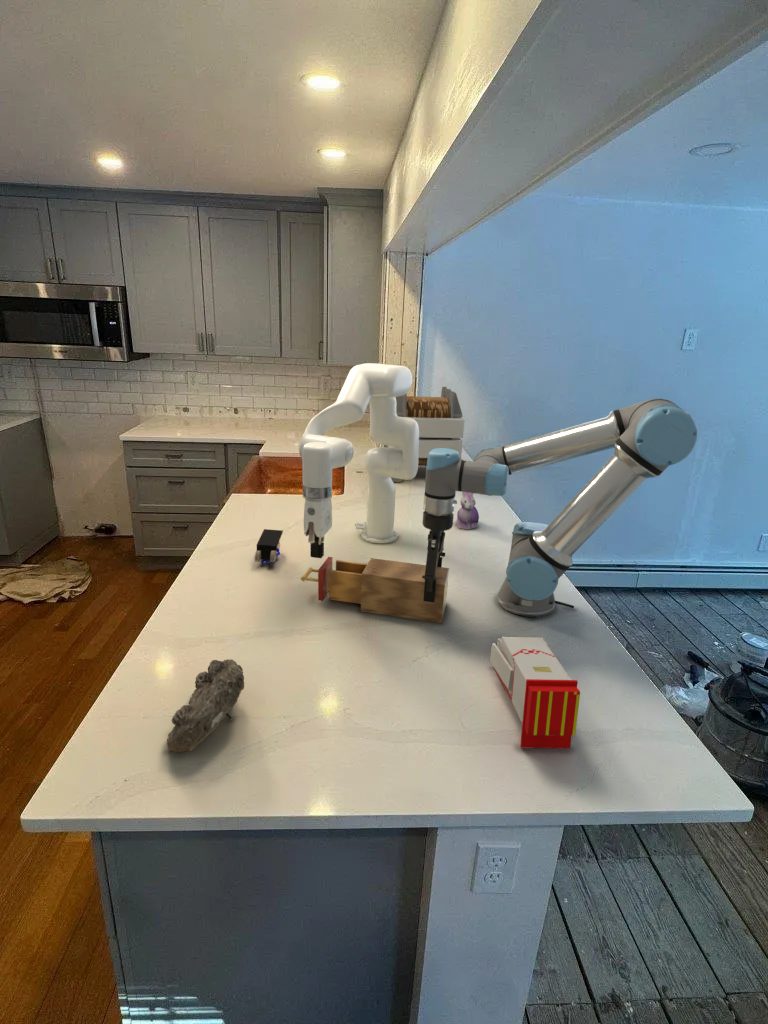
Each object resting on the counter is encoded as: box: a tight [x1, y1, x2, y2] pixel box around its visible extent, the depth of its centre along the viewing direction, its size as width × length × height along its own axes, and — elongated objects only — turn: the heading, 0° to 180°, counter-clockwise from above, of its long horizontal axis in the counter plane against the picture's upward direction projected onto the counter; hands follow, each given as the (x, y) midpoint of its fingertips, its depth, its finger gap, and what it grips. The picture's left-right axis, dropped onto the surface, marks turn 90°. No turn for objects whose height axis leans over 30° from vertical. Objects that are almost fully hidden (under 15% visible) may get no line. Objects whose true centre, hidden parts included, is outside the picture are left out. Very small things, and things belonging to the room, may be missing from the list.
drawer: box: [300, 556, 368, 605], centre depth 152 cm, size 25×9×9 cm, turn 78°
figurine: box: [455, 492, 480, 530], centre depth 208 cm, size 9×10×15 cm
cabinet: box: [360, 557, 450, 624], centre depth 149 cm, size 21×10×11 cm, turn 78°
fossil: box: [166, 658, 245, 754], centre depth 106 cm, size 22×10×15 cm
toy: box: [489, 636, 581, 749], centre depth 115 cm, size 12×13×30 cm
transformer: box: [383, 386, 465, 483], centre depth 268 cm, size 34×33×41 cm
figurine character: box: [254, 528, 284, 568], centre depth 174 cm, size 7×8×15 cm
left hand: (317, 556), depth 151 cm, fingers closed
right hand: (432, 589), depth 147 cm, fingers open, 12 cm apart
